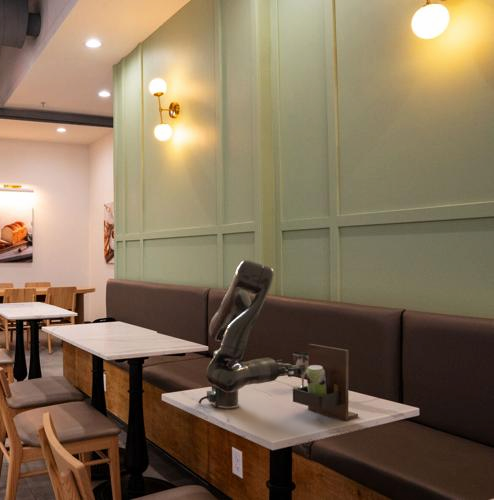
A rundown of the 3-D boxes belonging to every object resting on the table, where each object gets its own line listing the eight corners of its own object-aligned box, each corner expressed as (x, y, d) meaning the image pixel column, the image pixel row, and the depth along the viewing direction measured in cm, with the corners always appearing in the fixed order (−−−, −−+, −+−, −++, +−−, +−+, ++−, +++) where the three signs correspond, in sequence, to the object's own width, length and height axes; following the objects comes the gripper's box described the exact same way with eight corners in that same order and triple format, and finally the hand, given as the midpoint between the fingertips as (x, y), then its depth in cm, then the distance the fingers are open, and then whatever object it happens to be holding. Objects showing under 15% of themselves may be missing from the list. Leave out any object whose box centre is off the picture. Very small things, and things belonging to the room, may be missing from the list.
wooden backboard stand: (325, 426, 169) (326, 353, 169) (288, 414, 181) (288, 346, 182) (358, 417, 179) (358, 348, 179) (320, 406, 192) (320, 342, 192)
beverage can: (329, 400, 179) (329, 365, 179) (321, 404, 173) (321, 368, 174) (311, 396, 183) (311, 363, 183) (303, 400, 178) (303, 366, 178)
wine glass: (307, 392, 212) (307, 356, 212) (289, 388, 218) (289, 353, 218) (316, 389, 218) (316, 353, 218) (298, 385, 223) (298, 351, 224)
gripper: (278, 363, 157) (311, 357, 165) (243, 355, 168) (276, 350, 177) (278, 387, 156) (311, 381, 165) (243, 378, 168) (276, 372, 177)
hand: (293, 365), depth 171 cm, fingers open, 8 cm apart
